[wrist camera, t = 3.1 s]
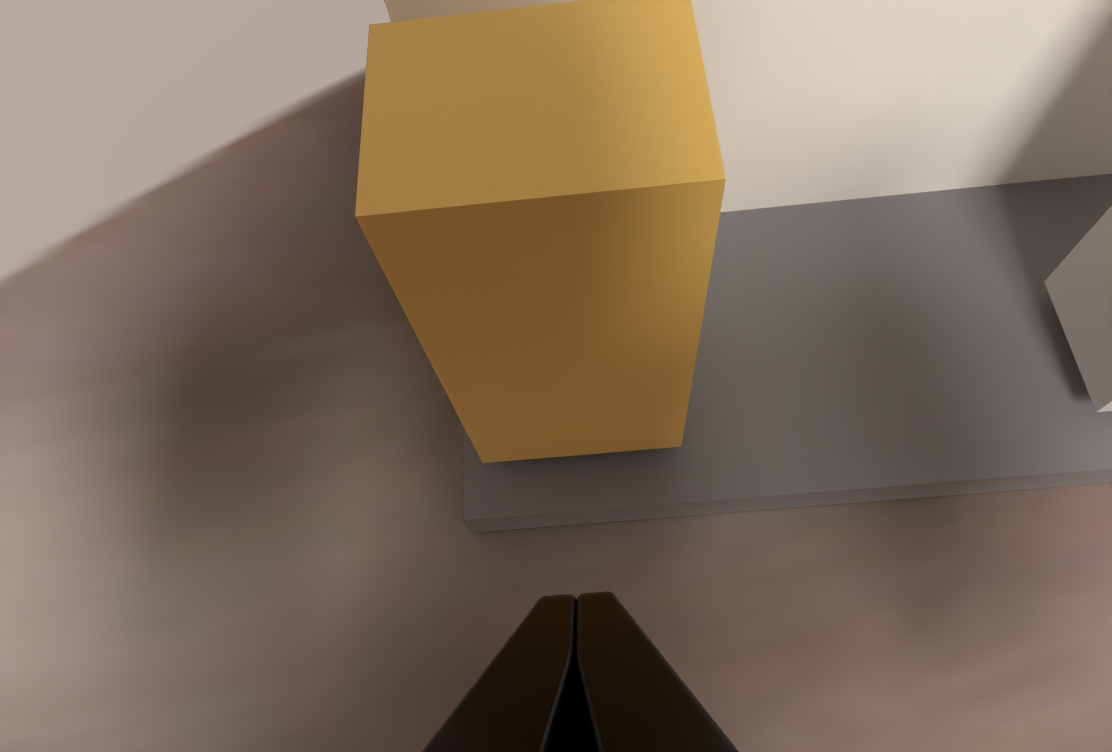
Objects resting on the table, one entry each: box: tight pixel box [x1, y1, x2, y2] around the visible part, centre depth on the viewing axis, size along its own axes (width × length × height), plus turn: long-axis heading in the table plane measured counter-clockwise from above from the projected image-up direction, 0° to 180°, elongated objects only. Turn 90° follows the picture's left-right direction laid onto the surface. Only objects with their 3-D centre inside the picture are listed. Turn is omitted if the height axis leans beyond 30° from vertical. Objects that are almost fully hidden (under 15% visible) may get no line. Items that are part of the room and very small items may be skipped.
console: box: [384, 0, 1112, 533], centre depth 13 cm, size 11×17×12 cm, turn 93°
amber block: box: [355, 0, 726, 463], centre depth 12 cm, size 3×4×8 cm
